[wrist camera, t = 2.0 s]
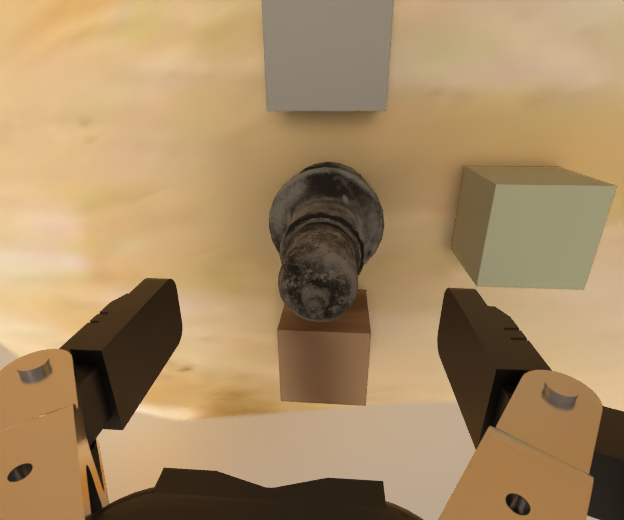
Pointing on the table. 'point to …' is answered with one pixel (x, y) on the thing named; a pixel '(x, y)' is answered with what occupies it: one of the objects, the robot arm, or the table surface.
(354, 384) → the walnut block
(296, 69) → the grey block
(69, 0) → the table surface
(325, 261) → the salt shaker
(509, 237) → the sage block
